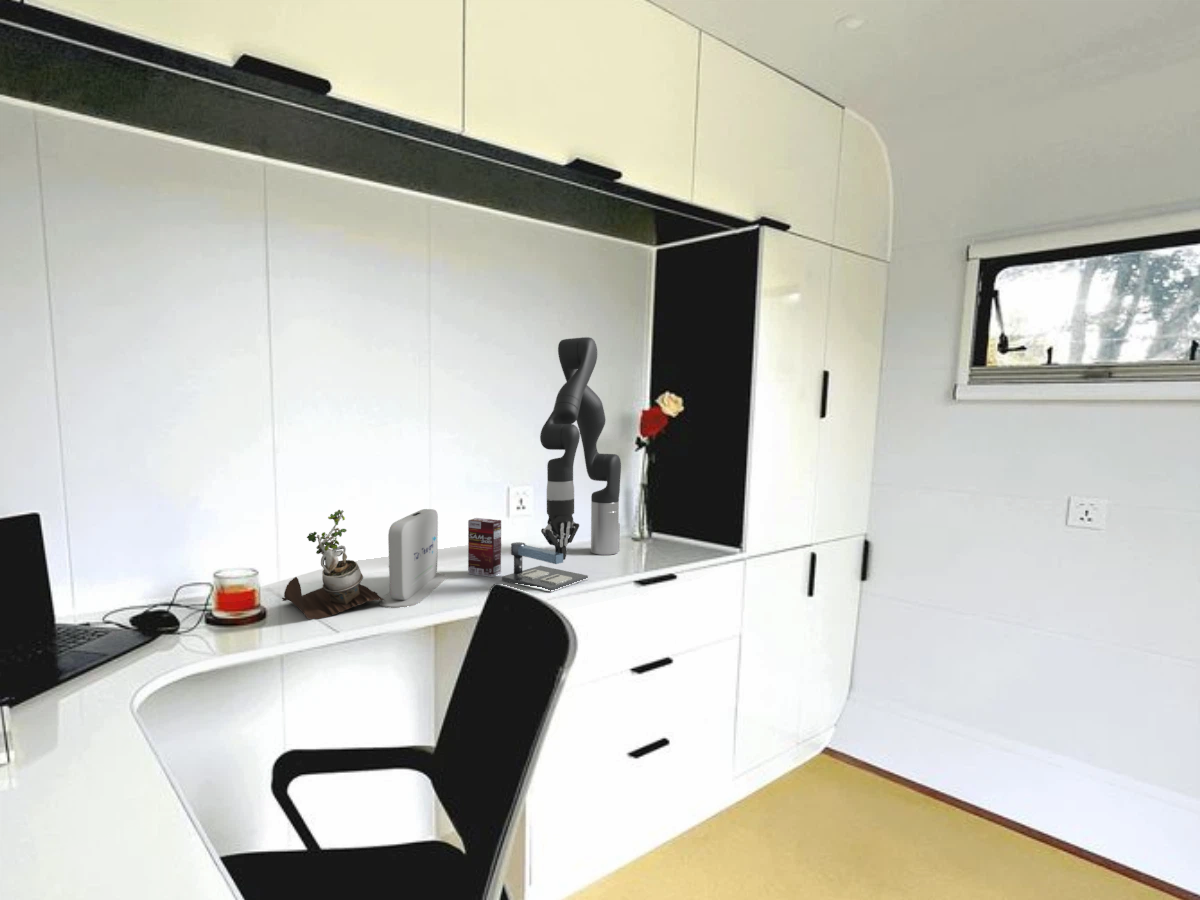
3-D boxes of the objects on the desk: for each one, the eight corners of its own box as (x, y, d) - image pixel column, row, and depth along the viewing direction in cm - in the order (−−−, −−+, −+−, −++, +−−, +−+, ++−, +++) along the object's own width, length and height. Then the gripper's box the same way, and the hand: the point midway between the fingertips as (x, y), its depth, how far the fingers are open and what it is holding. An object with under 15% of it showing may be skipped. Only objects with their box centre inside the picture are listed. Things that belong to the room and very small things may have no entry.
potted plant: (392, 612, 154) (371, 521, 145) (314, 651, 142) (286, 555, 133) (356, 582, 168) (335, 497, 158) (283, 615, 156) (256, 526, 147)
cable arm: (508, 554, 180) (508, 543, 180) (518, 551, 183) (519, 541, 183) (554, 565, 168) (554, 554, 167) (565, 563, 171) (565, 552, 170)
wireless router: (413, 608, 151) (412, 525, 150) (372, 607, 152) (371, 524, 150) (451, 575, 182) (451, 506, 181) (417, 574, 183) (416, 505, 182)
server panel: (538, 569, 190) (538, 548, 189) (587, 579, 178) (588, 558, 178) (499, 580, 177) (499, 558, 176) (550, 592, 166) (550, 569, 165)
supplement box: (467, 574, 183) (467, 520, 182) (476, 570, 187) (476, 517, 186) (493, 577, 179) (493, 522, 179) (501, 573, 184) (502, 519, 183)
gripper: (567, 493, 180) (568, 553, 181) (533, 498, 170) (533, 561, 171) (587, 495, 175) (587, 557, 176) (552, 501, 165) (552, 566, 166)
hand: (560, 559), depth 174 cm, fingers closed
